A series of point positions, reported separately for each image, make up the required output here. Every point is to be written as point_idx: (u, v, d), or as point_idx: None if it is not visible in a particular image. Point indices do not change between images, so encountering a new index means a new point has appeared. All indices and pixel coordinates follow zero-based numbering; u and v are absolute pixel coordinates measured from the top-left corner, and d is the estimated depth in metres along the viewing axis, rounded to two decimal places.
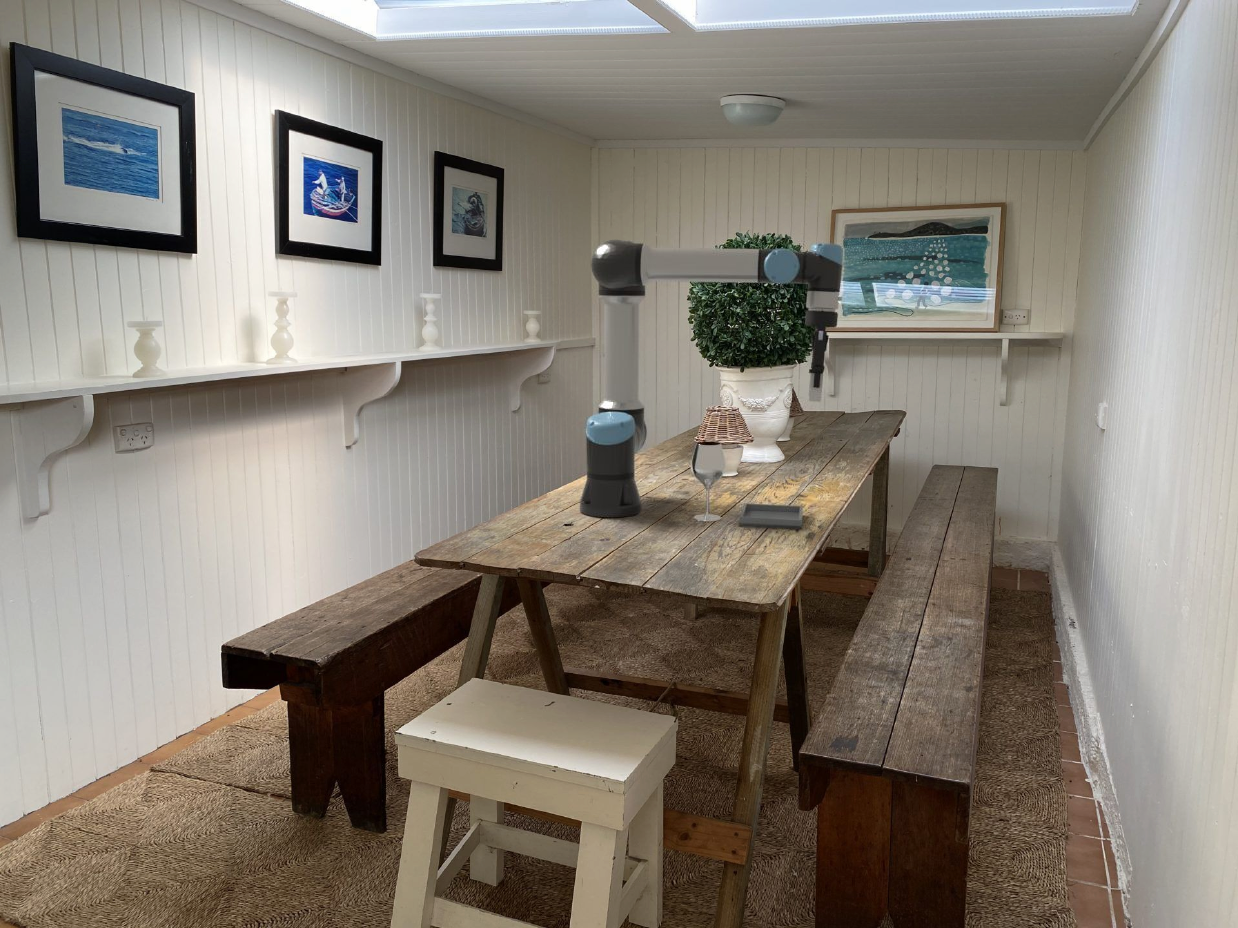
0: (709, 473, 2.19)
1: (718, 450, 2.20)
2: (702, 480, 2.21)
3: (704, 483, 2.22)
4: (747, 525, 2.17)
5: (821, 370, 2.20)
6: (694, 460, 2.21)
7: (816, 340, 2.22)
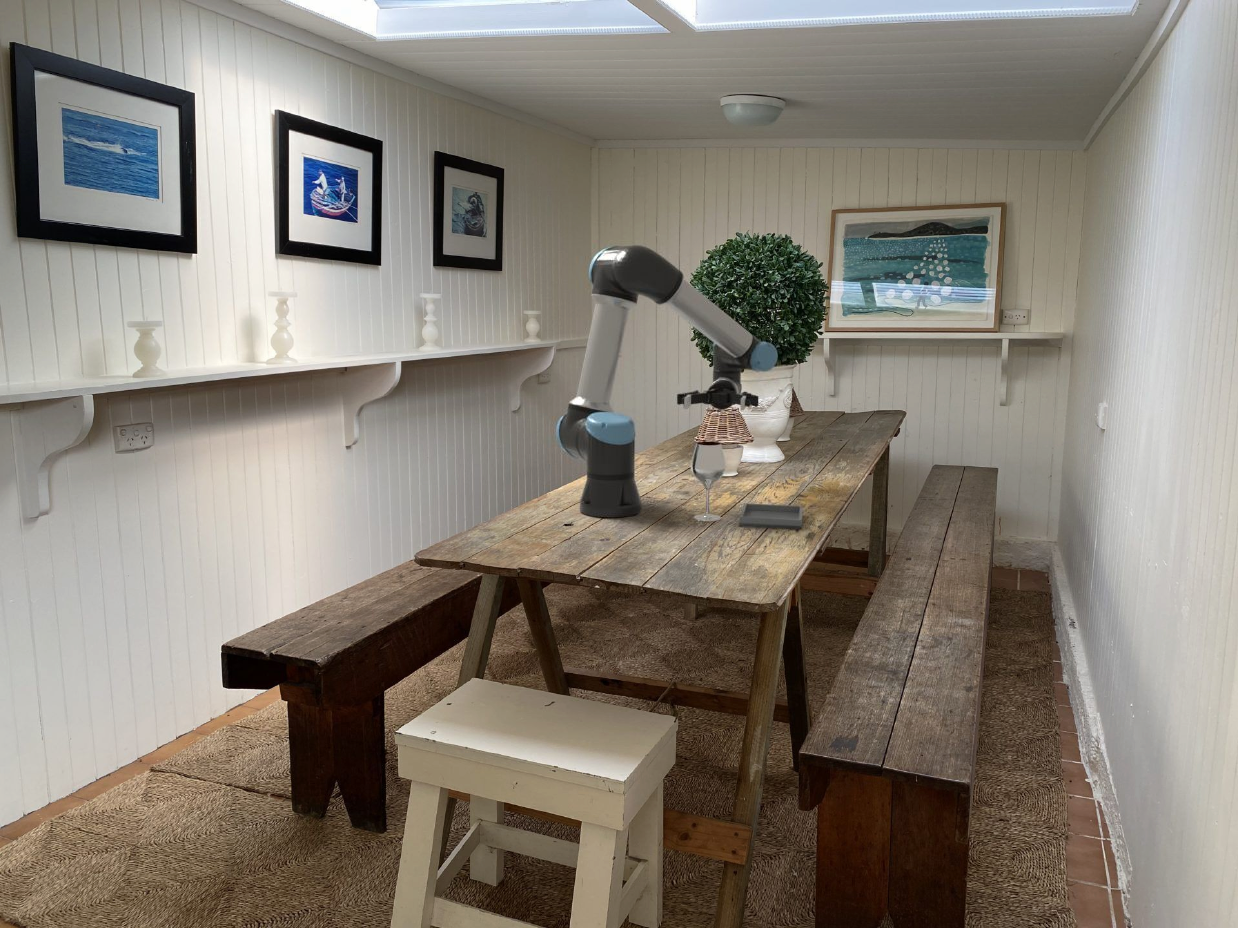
0: (709, 473, 2.19)
1: (718, 450, 2.20)
2: (702, 480, 2.21)
3: (704, 483, 2.22)
4: (747, 525, 2.17)
5: (757, 404, 2.35)
6: (694, 460, 2.21)
7: None
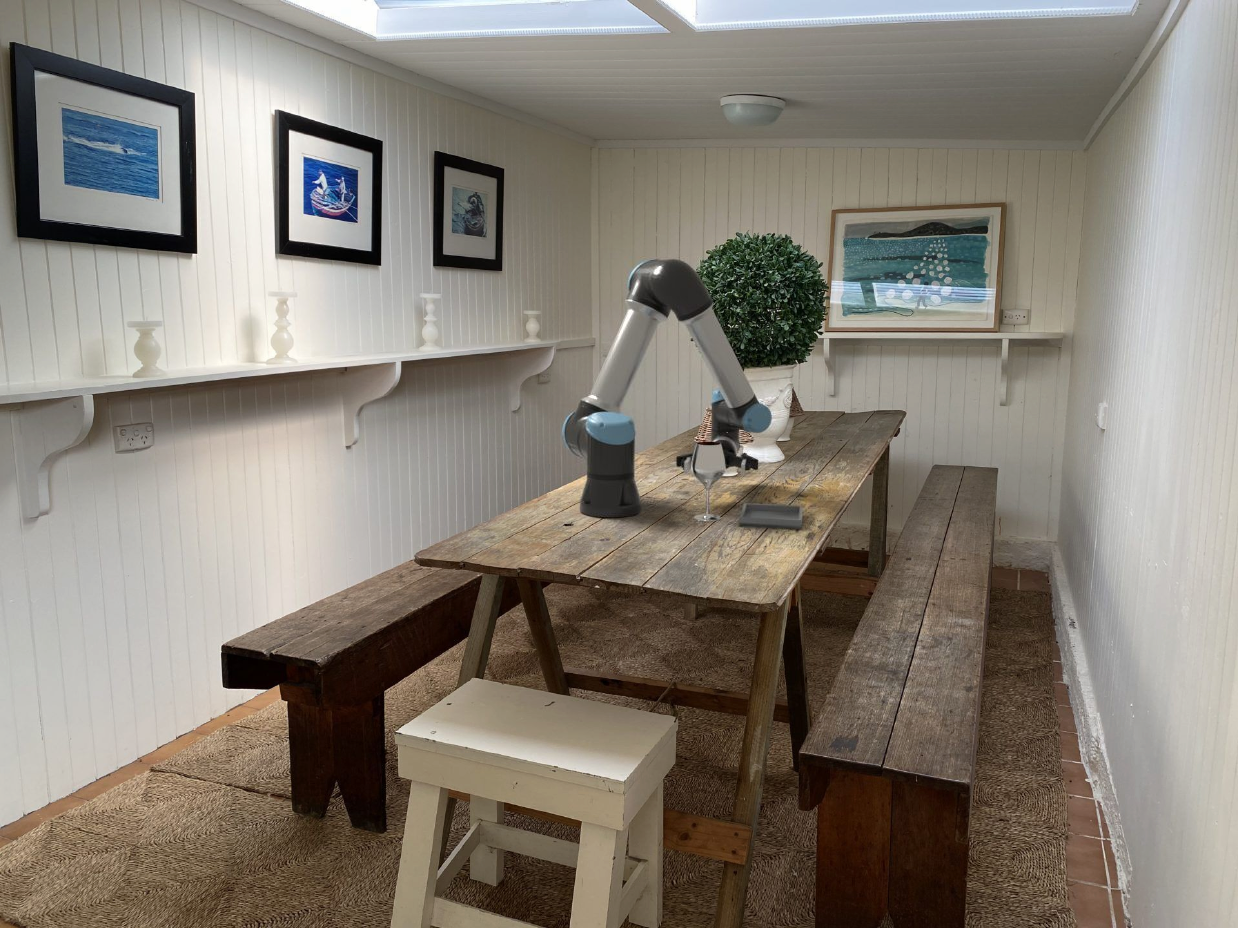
0: (708, 473, 2.19)
1: (718, 450, 2.20)
2: (702, 480, 2.21)
3: (704, 483, 2.22)
4: (747, 525, 2.17)
5: (757, 467, 2.33)
6: (694, 460, 2.21)
7: None
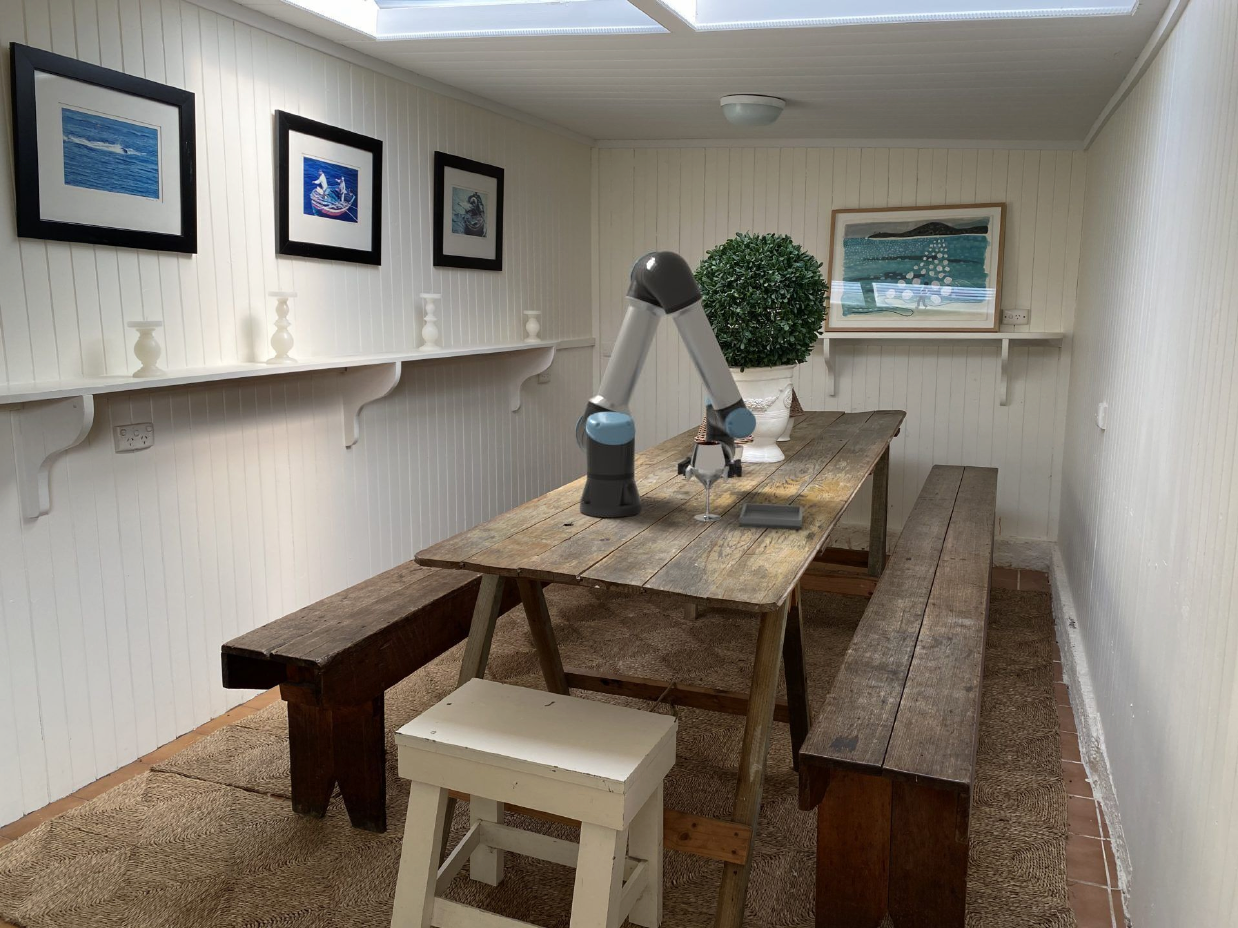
0: (708, 473, 2.19)
1: (717, 450, 2.20)
2: (702, 480, 2.21)
3: (704, 483, 2.22)
4: (747, 525, 2.17)
5: (740, 475, 2.24)
6: (694, 460, 2.21)
7: None
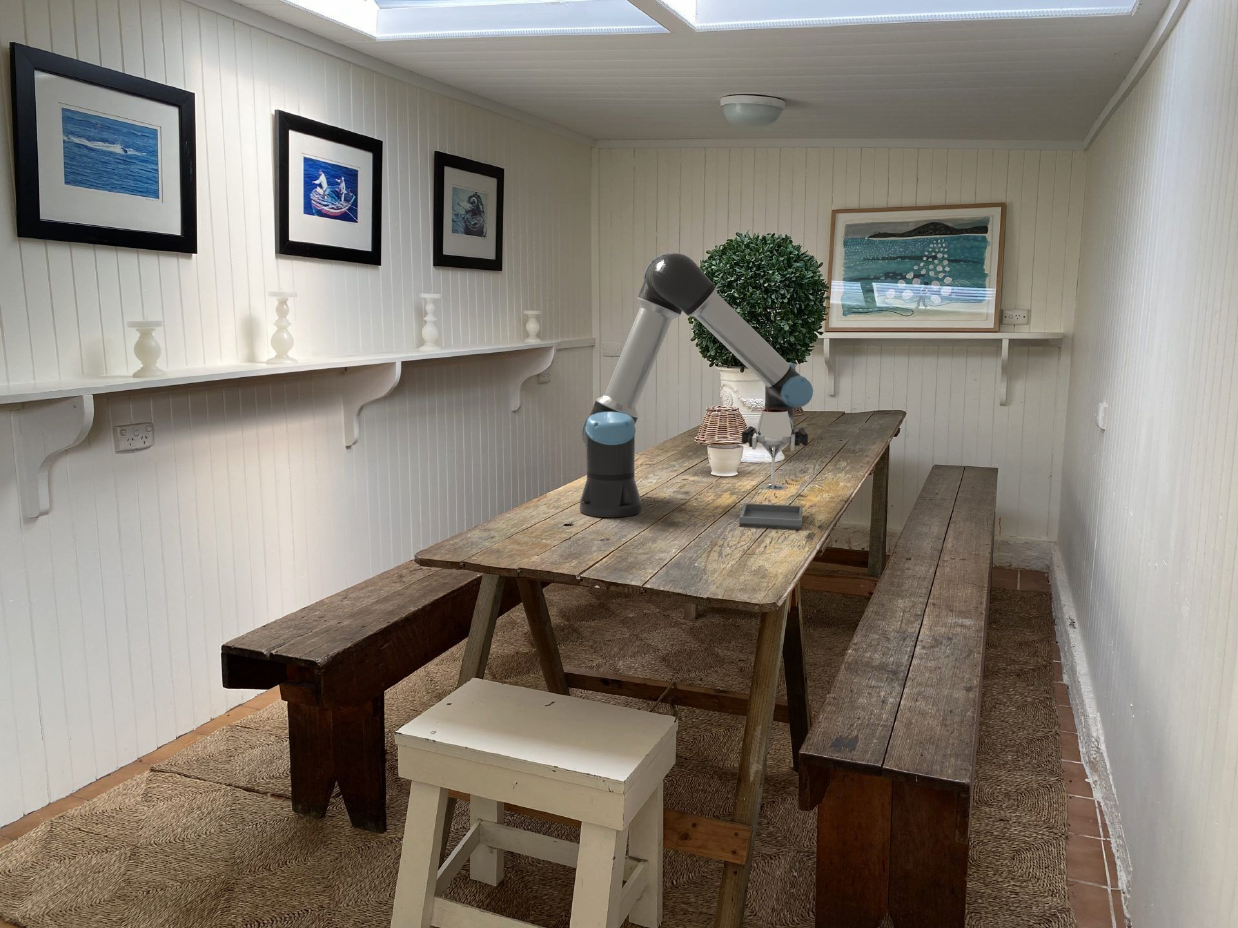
0: (775, 441, 2.16)
1: (784, 417, 2.16)
2: (768, 448, 2.18)
3: (770, 451, 2.19)
4: (747, 525, 2.17)
5: (806, 443, 2.21)
6: (760, 427, 2.17)
7: (803, 431, 2.28)
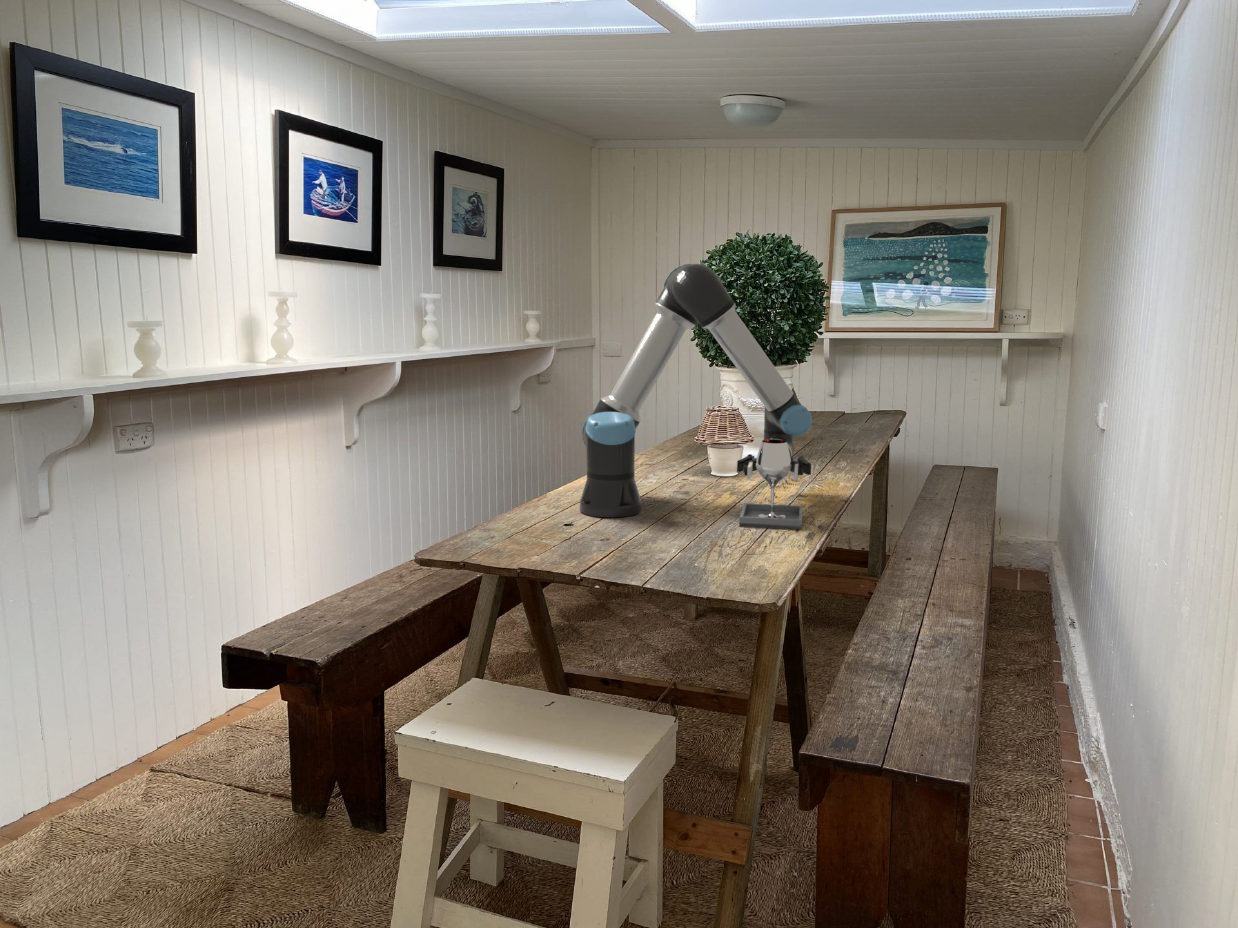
0: (775, 472, 2.17)
1: (784, 448, 2.18)
2: (768, 478, 2.19)
3: (769, 481, 2.20)
4: (747, 525, 2.17)
5: (810, 472, 2.22)
6: (760, 458, 2.19)
7: None
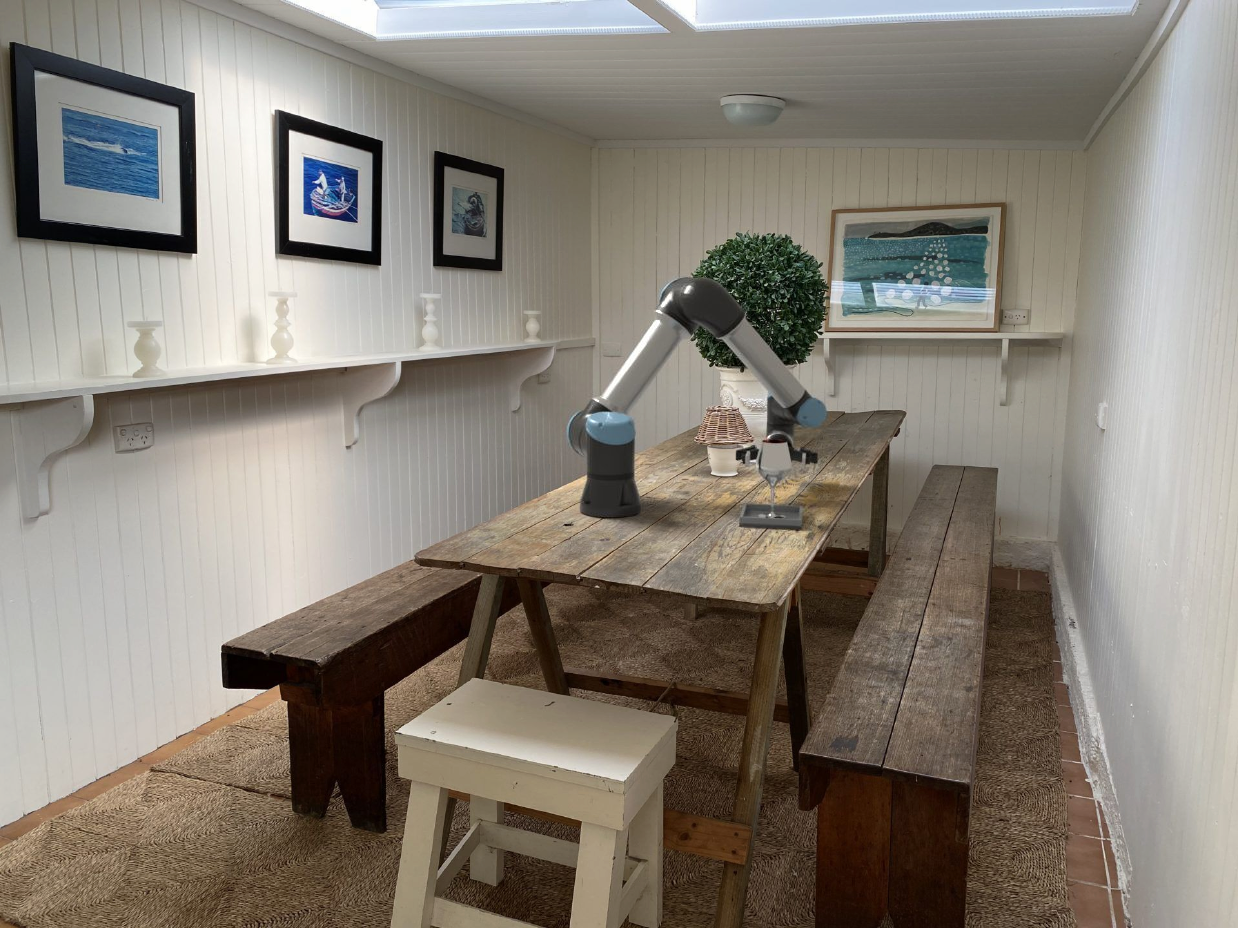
0: (775, 472, 2.17)
1: (784, 448, 2.18)
2: (768, 478, 2.19)
3: (769, 481, 2.20)
4: (747, 525, 2.17)
5: (817, 461, 2.36)
6: (760, 458, 2.19)
7: None
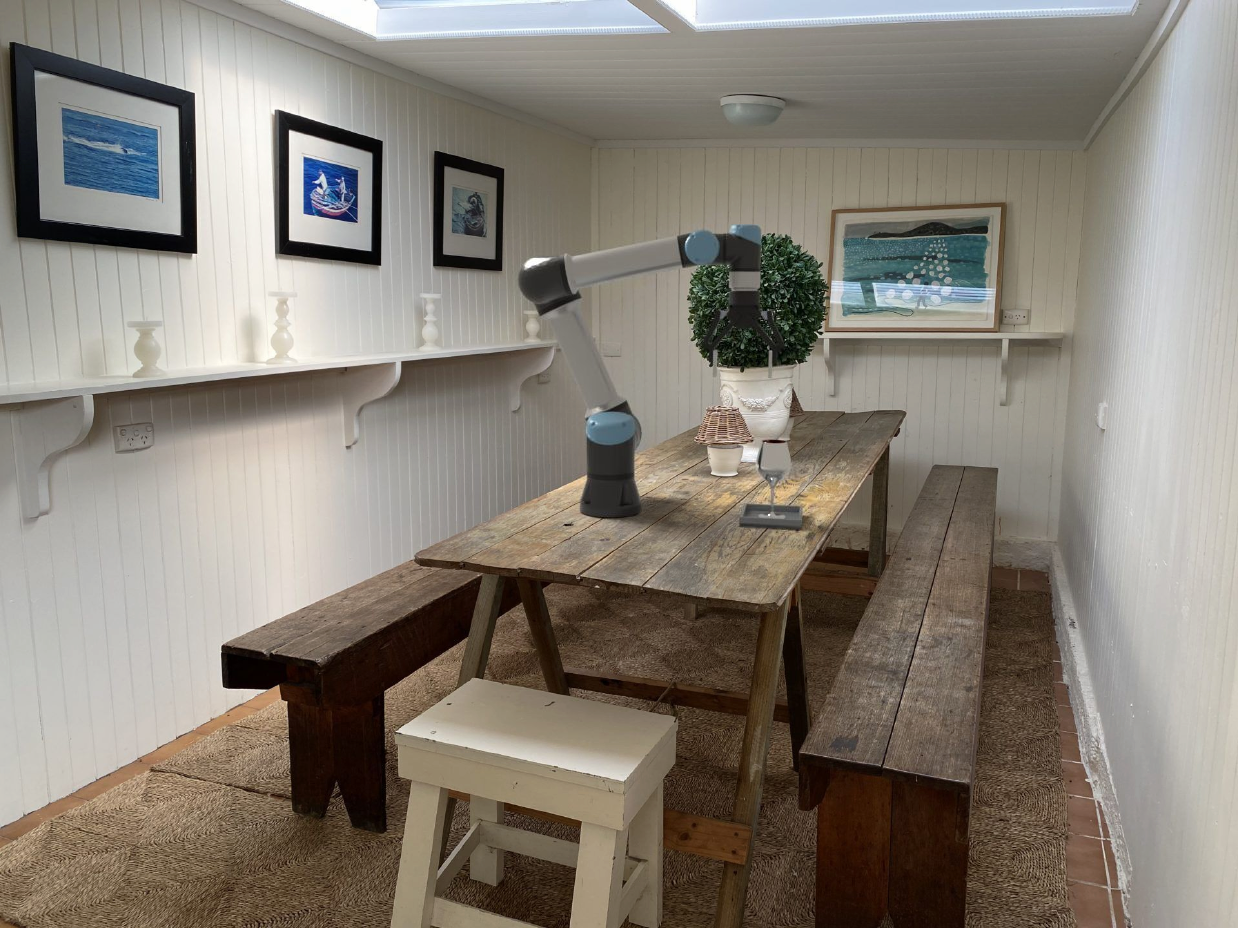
0: (775, 472, 2.17)
1: (784, 448, 2.18)
2: (768, 478, 2.19)
3: (769, 481, 2.20)
4: (747, 525, 2.17)
5: None
6: (760, 458, 2.19)
7: (772, 319, 2.31)
